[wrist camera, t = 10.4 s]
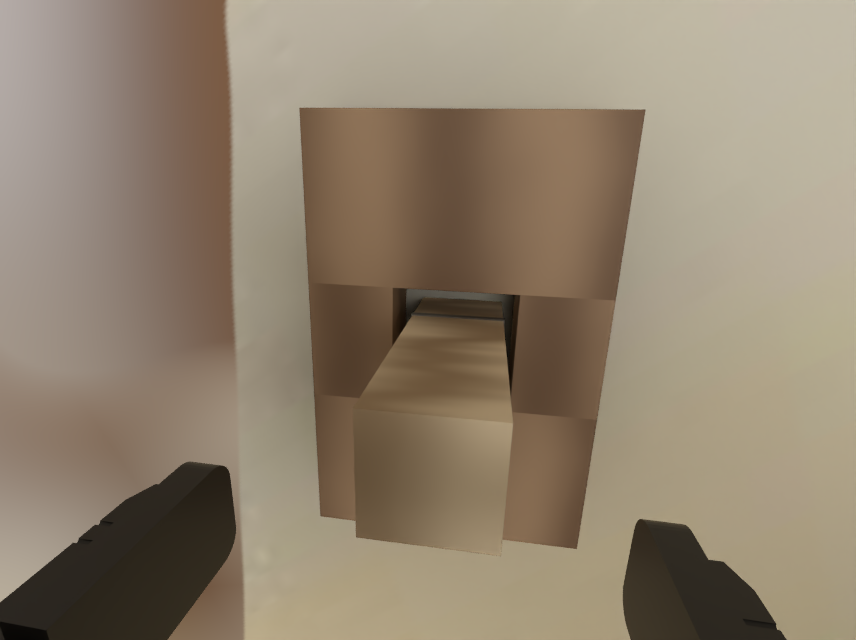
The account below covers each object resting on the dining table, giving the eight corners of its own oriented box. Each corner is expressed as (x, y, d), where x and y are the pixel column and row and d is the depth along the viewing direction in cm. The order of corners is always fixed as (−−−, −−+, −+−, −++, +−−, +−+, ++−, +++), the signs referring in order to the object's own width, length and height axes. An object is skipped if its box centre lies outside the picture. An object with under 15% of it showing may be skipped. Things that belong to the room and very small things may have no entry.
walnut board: (619, 123, 17) (645, 109, 14) (565, 503, 22) (576, 548, 19) (328, 120, 19) (299, 107, 16) (341, 477, 24) (320, 516, 21)
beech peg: (502, 300, 20) (515, 421, 9) (496, 375, 21) (502, 557, 10) (422, 296, 20) (350, 406, 10) (421, 369, 21) (354, 538, 11)
